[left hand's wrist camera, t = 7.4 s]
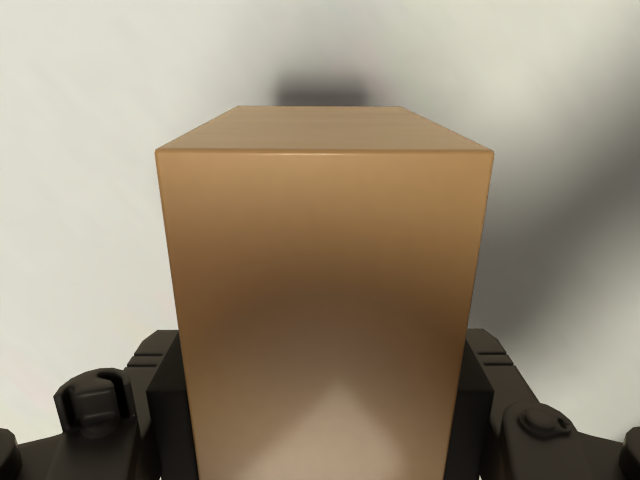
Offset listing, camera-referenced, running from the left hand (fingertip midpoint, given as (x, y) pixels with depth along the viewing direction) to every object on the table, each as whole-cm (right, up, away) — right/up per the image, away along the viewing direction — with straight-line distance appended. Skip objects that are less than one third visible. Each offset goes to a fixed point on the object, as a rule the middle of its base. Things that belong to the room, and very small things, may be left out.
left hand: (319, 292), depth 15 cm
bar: (0, -21, +9) cm, 23 cm away
